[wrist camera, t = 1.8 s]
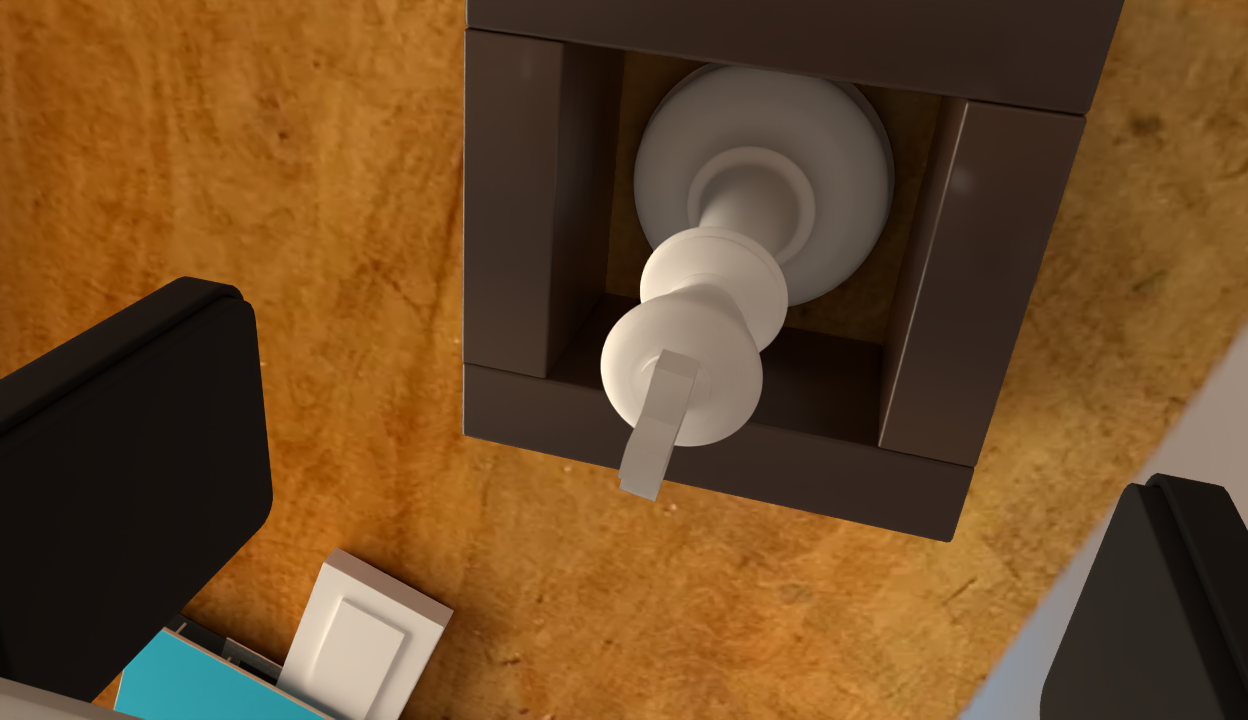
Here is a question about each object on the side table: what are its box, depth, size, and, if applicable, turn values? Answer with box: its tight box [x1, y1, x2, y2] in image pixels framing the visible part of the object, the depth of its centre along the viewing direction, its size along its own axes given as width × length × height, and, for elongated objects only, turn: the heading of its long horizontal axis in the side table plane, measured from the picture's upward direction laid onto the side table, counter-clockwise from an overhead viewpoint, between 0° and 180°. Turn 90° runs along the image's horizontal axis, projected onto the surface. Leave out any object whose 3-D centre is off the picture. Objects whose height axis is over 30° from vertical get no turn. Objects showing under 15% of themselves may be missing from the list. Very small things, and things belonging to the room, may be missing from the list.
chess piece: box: [601, 62, 895, 502], centre depth 14 cm, size 5×5×10 cm
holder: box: [462, 0, 1125, 542], centre depth 17 cm, size 9×9×4 cm
